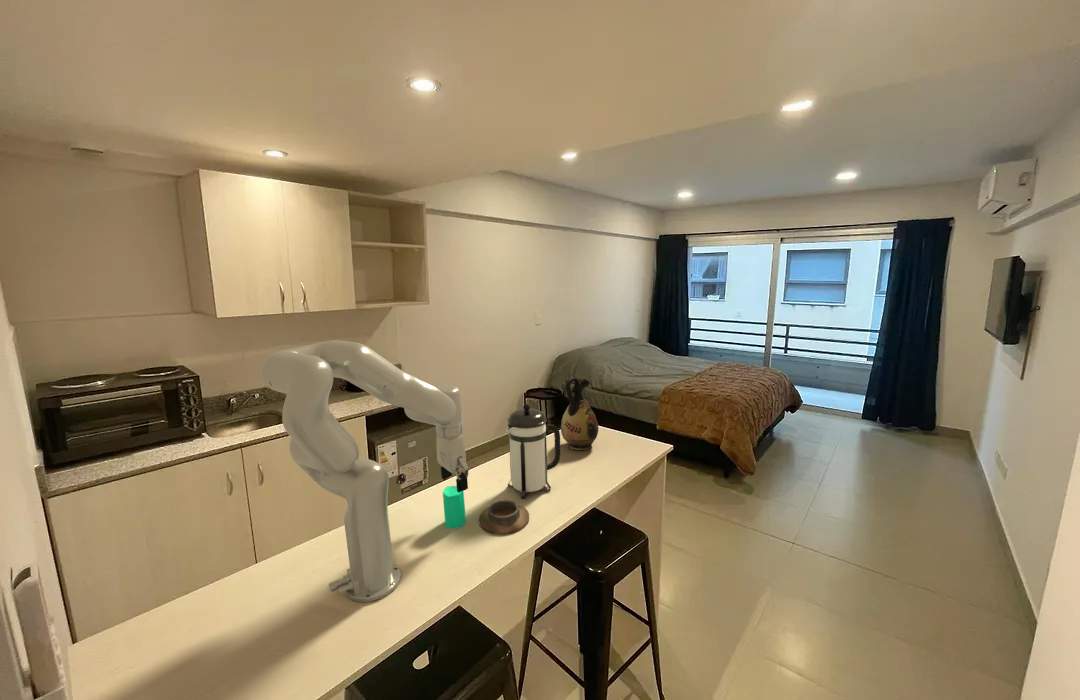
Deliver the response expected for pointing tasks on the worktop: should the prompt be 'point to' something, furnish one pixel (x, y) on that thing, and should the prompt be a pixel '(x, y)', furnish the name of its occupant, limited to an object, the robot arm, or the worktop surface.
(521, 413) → the coffee press
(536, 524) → the worktop surface
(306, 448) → the robot arm
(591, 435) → the ceramic jug
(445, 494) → the candle
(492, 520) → the candle holder
